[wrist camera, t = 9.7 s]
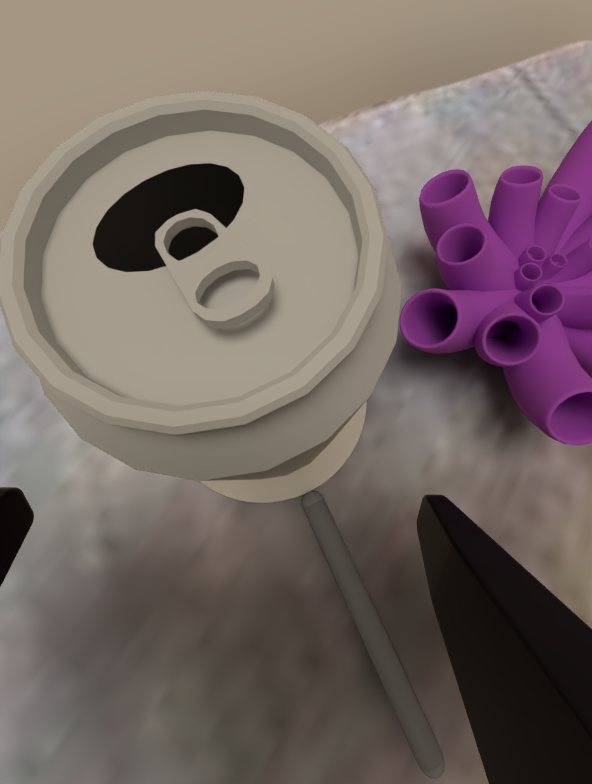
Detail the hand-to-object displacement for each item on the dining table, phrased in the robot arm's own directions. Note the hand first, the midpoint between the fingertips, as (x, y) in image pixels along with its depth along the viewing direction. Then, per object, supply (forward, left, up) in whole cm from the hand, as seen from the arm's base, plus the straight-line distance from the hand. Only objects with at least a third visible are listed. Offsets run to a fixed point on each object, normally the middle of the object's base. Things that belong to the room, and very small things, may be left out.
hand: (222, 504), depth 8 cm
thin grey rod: (-7, -2, -9) cm, 11 cm away
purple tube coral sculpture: (+2, -15, -9) cm, 18 cm away
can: (+4, -2, -9) cm, 10 cm away
